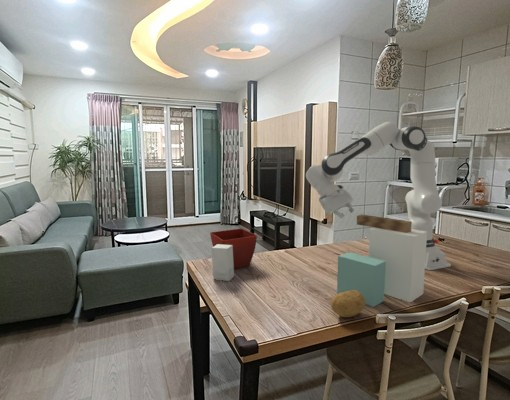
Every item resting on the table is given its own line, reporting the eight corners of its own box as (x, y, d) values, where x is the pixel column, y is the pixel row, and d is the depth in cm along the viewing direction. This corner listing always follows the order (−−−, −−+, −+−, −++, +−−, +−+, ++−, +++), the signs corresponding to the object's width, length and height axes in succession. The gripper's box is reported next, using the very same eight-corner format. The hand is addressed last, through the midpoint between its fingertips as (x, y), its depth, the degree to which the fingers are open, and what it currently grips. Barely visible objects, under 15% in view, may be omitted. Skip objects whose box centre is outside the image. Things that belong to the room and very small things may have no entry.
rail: (356, 224, 141) (356, 215, 140) (361, 223, 143) (361, 214, 143) (406, 232, 124) (407, 222, 124) (411, 231, 127) (411, 221, 126)
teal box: (348, 288, 135) (349, 252, 133) (383, 300, 123) (385, 261, 121) (337, 293, 130) (338, 255, 128) (373, 307, 118) (375, 265, 116)
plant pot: (223, 273, 154) (222, 240, 152) (210, 262, 171) (209, 232, 169) (258, 267, 163) (257, 235, 161) (242, 257, 180) (242, 228, 177)
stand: (381, 281, 143) (383, 224, 140) (423, 293, 129) (427, 231, 126) (367, 288, 135) (369, 228, 132) (410, 302, 122) (414, 236, 118)
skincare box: (234, 277, 150) (233, 244, 148) (228, 282, 143) (228, 248, 141) (218, 275, 152) (217, 243, 150) (212, 279, 146) (211, 247, 144)
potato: (322, 315, 112) (323, 293, 111) (349, 304, 120) (349, 284, 119) (344, 327, 104) (345, 304, 103) (371, 315, 112) (372, 293, 111)
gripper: (320, 194, 149) (340, 217, 144) (343, 184, 162) (362, 204, 158) (313, 202, 153) (332, 224, 148) (336, 192, 166) (354, 212, 162)
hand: (347, 214), depth 153 cm, fingers open, 8 cm apart
